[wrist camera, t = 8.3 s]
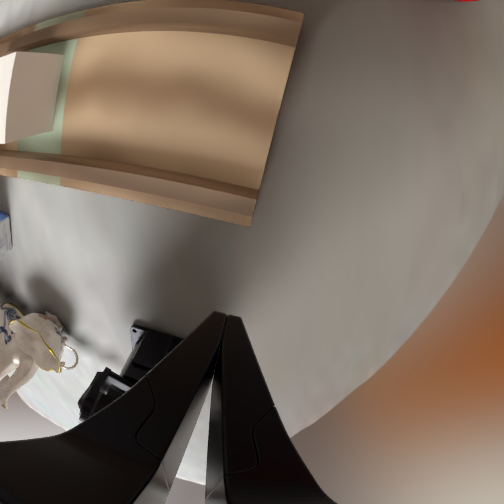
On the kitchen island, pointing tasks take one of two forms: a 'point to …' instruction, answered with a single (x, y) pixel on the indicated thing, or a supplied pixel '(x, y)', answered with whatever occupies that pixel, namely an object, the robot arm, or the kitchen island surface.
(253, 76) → the light wood shallow tray
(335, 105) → the kitchen island surface
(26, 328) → the chinaware
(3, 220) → the medicine box
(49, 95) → the cream block
